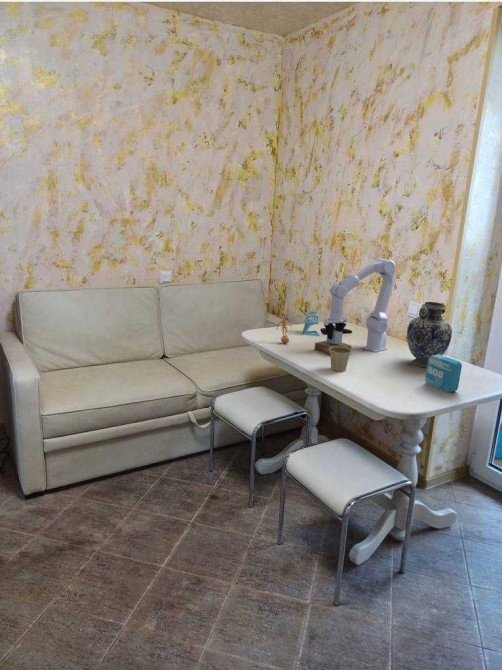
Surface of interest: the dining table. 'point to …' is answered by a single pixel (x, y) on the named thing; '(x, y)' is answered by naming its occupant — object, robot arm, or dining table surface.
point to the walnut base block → (329, 346)
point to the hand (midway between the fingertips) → (333, 338)
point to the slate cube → (336, 337)
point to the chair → (310, 323)
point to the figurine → (284, 338)
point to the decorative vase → (428, 333)
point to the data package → (443, 373)
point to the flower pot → (339, 358)
